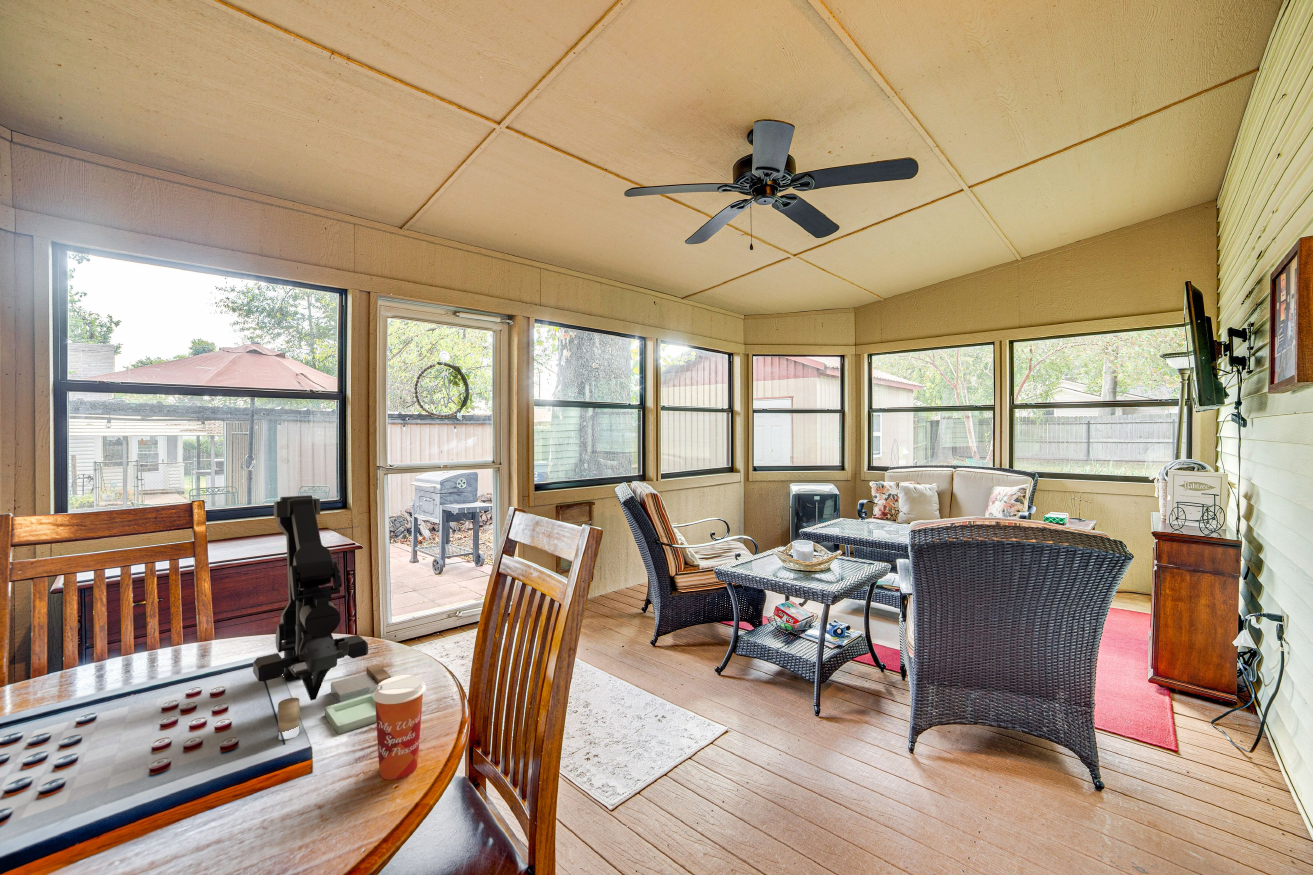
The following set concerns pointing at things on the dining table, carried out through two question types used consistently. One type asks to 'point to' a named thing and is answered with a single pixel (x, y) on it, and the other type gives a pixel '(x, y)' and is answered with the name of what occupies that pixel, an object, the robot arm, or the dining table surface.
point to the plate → (353, 687)
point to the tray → (352, 713)
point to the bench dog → (377, 673)
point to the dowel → (288, 714)
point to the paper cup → (398, 725)
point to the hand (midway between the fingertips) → (312, 699)
